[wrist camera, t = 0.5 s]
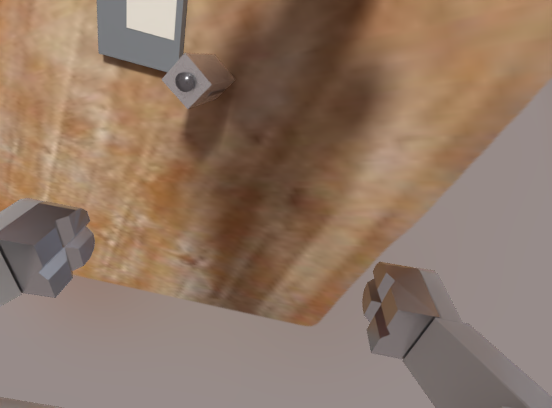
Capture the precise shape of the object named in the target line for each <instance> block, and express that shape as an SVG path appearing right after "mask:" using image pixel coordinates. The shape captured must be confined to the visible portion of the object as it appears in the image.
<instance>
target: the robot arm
mask: <svg viewBox="0 0 552 408" xmlns="http://www.w3.org/2000/svg"><path fill="white" fill-rule="evenodd" d="M89 222H90V219H89V216H88V213H87V211H85V210H84V209H82V208H77V207H72V206H67V205H62V204H57V203H52V202H47V201H46V202H45V201H40V200H35V199H31V198H25V199H20V200H18V201H17V202H15V203H14V204H12V205H11V206H9V207H8V208H6V209H4V210H3V211H1V212H0V306H2V305H4V304H6V303H8V302H9V301H11V300H13V299H15V298H17V297H18V296H20V295H21V293H26V294H34V295H40V296H47V297H54V298H56V296H57V295H58V294H59V293H60V292H61V291H62V290H63V288H64V287H65V286H66V285H67V284H68V283H69V282H70V281H71V279H72V278H73V270H75V269H78V268H80V267H82V266H84V265H85V263H86V262H87V261H88V260H89V259H90V257H91V255H92V252H93V250H94V244H95V239H94V235H93V233H92V232H91V231H90V230H89V229H88V228H87V227H86V226H87V224H88V223H89ZM373 274H374V279H372V280H371V281H369V282H367V285H366V287H365V289H364V293H363V302H362V303H363V312H364V316H365V317H366V318H367V319H368V321H369V322H370V324H369V326H368V328H367V334H368V339H369V344H370V350H371V353H374V354H379V355H384V356H388V357H394V358H398V359H403V362H404V364H405V365H406V366H407V368H408V369H409V371H410V372H411V374H412V375H413V377H414V378H415V379H416V381H417V382H418V384H419V385H420V386H421V388H422V389H423V391H424V392H425V394H426V395H427V396H428V398H429V399H430V400H431V402H432V403H433V405H434V406H435V408H552V396H551V395H549V394H548V393H547V392H546V391H545V390H544V389H543V388H541V387H540V386H539V385H538V384H537V383H536V382H535V381H533V380H532V379H531V378H530V377H529V376H527V374H525V373H524V372H523V371H522V370H521V369H520V368H519V367H517V366H516V365H515V364H514V363H513V362H512V361H511V360H509V359H508V358H507V357H506V356H505V355H504V354H503V353H502V352H500V351H499V350H498V349H497V348H496V347H495V346H494V345H492V344H491V343H490V342H489V341H488V340H487V339H486V338H484V337H483V336H482V335H481V334H480V333H479V332H478V331H476V330H475V329H474V328H473V327H472V326H471V325H470V324H468V323H463V322H462V320H461V318H460V316H459V314H458V312H457V310H456V308H455V306H454V304H453V302H452V300H451V298H450V296H449V294H448V293H447V290H446V288H445V286H444V284H443V282H442V280H441V279H440V277H439V275H438V273H436V272H435V271H433V270H428V269H421V268H413V267H407V266H401V265H395V264H390V263H384V262H379V263H378V264H377V265H376V266H375V268H374V270H373ZM0 408H62V407H56V406H50V405H44V404H38V403H33V402H27V401H20V400H15V399H9V398H3V397H0Z"/></svg>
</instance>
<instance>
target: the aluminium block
mask: <svg viewBox="0 0 552 408" xmlns="http://www.w3.org/2000/svg"><path fill="white" fill-rule="evenodd" d="M162 81H163V82H164V83H165V84H166V85H167V86H168V87H169V89H170V90H171V91H172V92H173V93H174V94H175V95H176V96H177V98H178V99H179V100H180V101H181V102H182V103H183V104H184V105H185V107H186V108H187V109H190V108H193V107H195V106H198V105H201V104H204V103H207V102H210V101H213V100H215V99H217V98H218V97H219V96H220V95H221V94H222V93H223V92H224V91H225V90H226V89H227V88H228V87H229V86H230V85H231V84H232V83H233V82H234V81H235V78H234V77H233V76H232V75H231V73H230V72H229V71H228V70H227V68H226V67H225V66H224V65H223V64H222V62H221V61H220V60H219V59H218V57H217V56H216V55H214V54H198V53H184V54H183V55H182V57H181V58H180V59H179V60H178V61H177V62H176V63H175V65H174V66H173V67H172V68H171V69H170V70H169V71H168V73H167V74H166V75H165V76H164V77H163V78H162Z"/></svg>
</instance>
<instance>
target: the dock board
mask: <svg viewBox="0 0 552 408" xmlns="http://www.w3.org/2000/svg"><path fill="white" fill-rule="evenodd" d="M187 1H188V0H97V20H98V48H99V54H103V55H107V56H110V57H114V58H118V59H121V60H125V61H128V62H132V63H136V64H139V65H143V66H147V67H150V68H154V69H157V70H161V71H165V72H168V71H169V70H170V69H171V68H172V67H173V66H174V65H175V63H176V62H177V61H178V60H179V59H180V58H181V57H182V55H183V49H184V37H185V25H186V13H187Z"/></svg>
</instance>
